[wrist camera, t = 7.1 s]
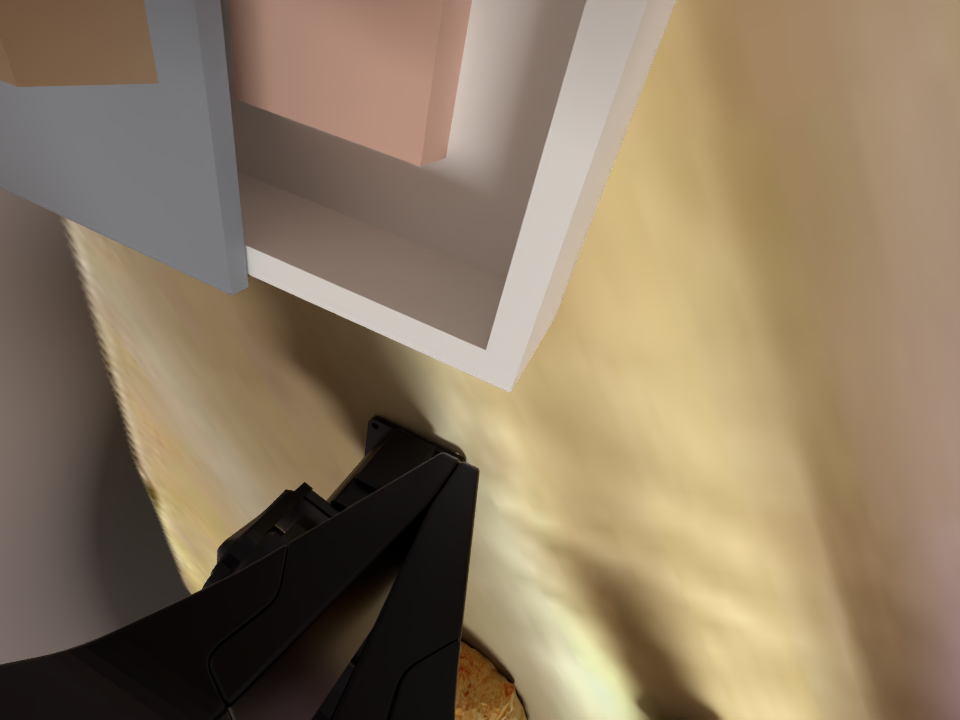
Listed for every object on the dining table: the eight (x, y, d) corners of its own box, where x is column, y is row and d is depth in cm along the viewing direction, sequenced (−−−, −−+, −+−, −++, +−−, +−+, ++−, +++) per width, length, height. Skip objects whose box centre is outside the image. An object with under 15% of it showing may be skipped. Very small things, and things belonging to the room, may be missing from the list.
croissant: (564, 699, 44) (582, 797, 37) (481, 746, 46) (482, 849, 38) (426, 552, 40) (414, 629, 32) (340, 610, 41) (308, 696, 34)
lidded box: (555, 316, 20) (510, 392, 15) (228, 183, 23) (108, 211, 19) (777, -265, 10) (837, -538, 6) (168, -350, 14) (-107, -566, 9)
